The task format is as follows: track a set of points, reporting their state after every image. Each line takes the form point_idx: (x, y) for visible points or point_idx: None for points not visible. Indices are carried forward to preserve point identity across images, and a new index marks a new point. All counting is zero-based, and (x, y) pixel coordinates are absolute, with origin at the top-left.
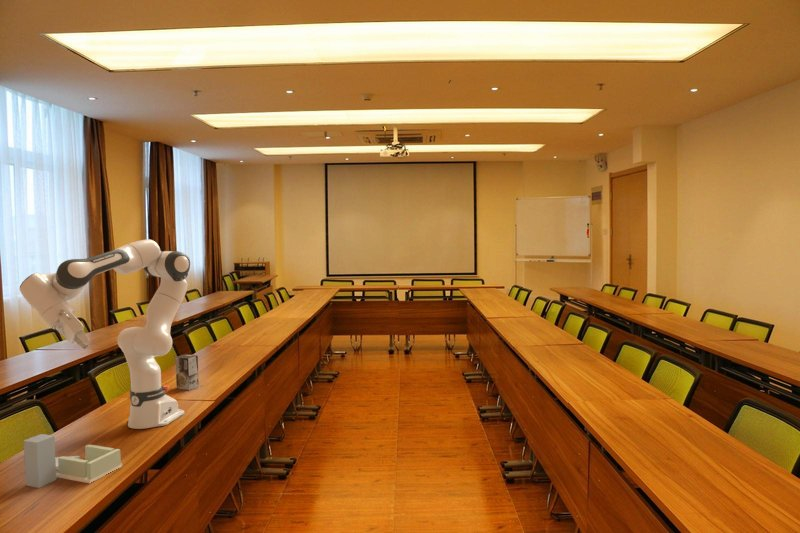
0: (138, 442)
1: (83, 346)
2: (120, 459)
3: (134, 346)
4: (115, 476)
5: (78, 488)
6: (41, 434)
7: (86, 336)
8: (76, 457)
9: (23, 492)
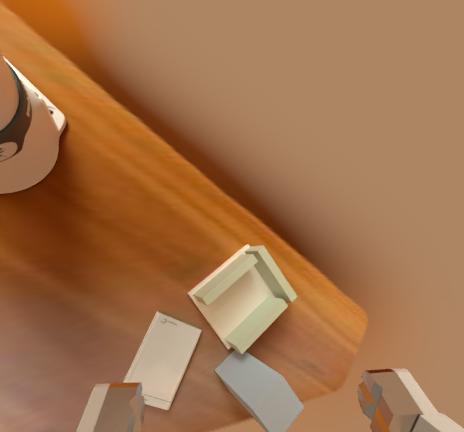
0: (143, 198)
1: (137, 429)
2: (254, 246)
3: None
4: (275, 258)
5: (286, 310)
6: (258, 409)
7: (457, 426)
8: (167, 318)
9: None
